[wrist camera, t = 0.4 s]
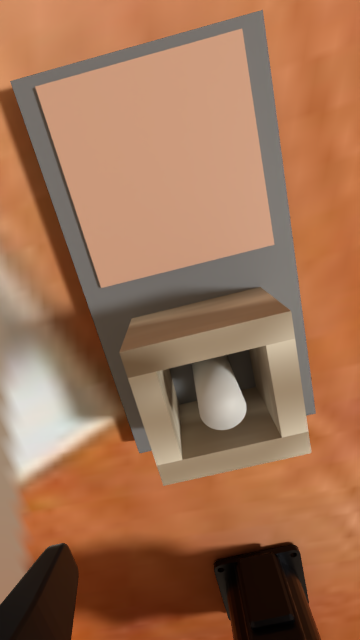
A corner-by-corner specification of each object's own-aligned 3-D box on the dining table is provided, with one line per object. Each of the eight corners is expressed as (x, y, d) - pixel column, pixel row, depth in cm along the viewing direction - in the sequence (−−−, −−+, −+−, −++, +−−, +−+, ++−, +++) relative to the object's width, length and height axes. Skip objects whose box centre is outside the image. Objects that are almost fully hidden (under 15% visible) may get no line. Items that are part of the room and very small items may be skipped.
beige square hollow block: (279, 399, 19) (311, 453, 15) (164, 426, 19) (163, 485, 15) (260, 286, 17) (291, 311, 13) (131, 318, 17) (119, 352, 13)
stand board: (308, 404, 20) (360, 474, 15) (140, 442, 21) (130, 523, 15) (256, 23, 14) (311, -98, 9) (20, 89, 15) (-69, 14, 9)
